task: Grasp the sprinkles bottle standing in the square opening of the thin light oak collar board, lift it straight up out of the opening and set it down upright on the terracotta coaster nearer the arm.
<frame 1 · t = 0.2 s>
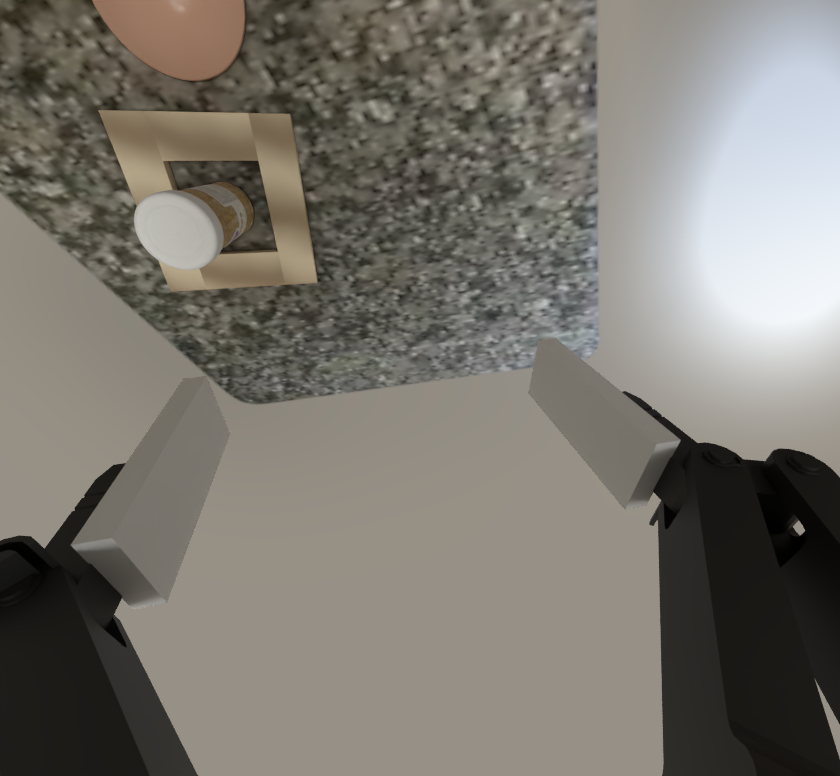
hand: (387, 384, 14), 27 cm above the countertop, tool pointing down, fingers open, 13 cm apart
collar board: (228, 208, 33), on the countertop
sprinkles bottle: (229, 208, 33), resting in collar board
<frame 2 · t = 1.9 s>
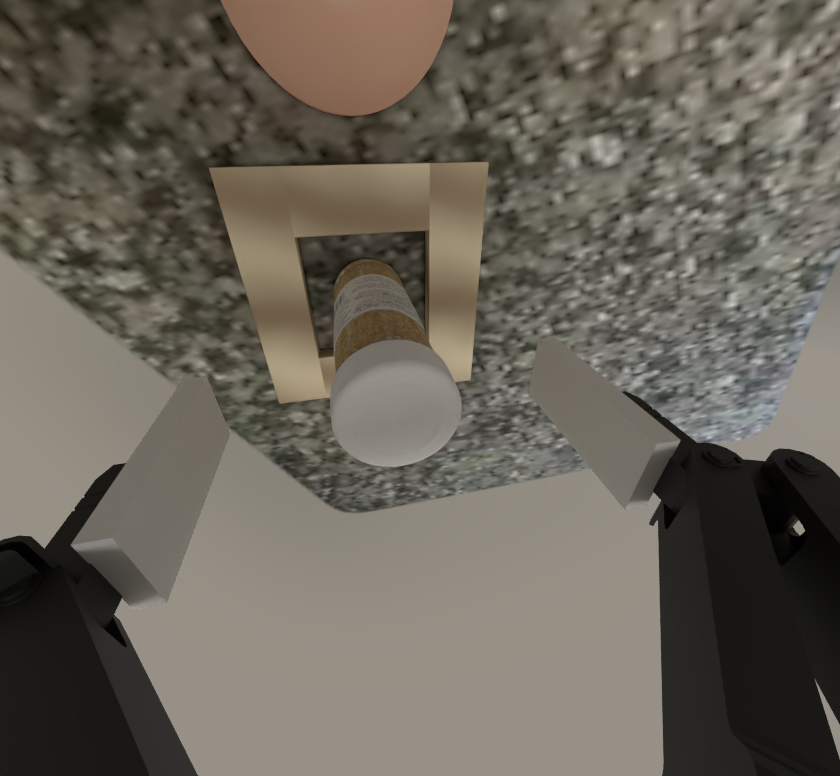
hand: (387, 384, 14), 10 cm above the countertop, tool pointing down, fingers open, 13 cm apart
collar board: (368, 292, 23), on the countertop
sprinkles bottle: (368, 291, 23), resting in collar board
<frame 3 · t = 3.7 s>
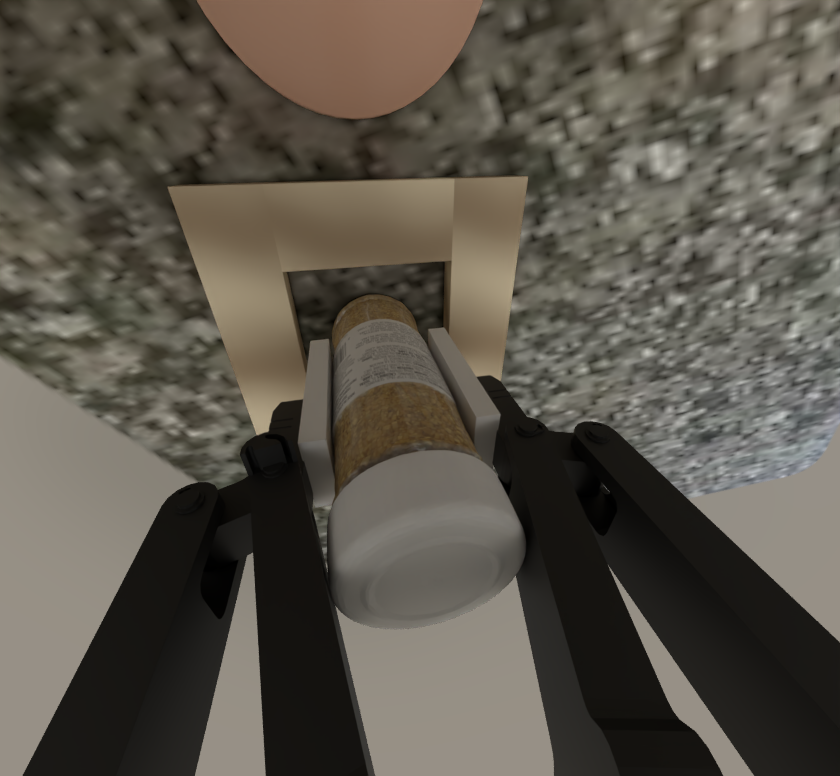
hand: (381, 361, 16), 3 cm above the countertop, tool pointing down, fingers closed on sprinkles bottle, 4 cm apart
collar board: (374, 332, 19), on the countertop
sprinkles bottle: (374, 331, 19), resting in collar board, touching gripper
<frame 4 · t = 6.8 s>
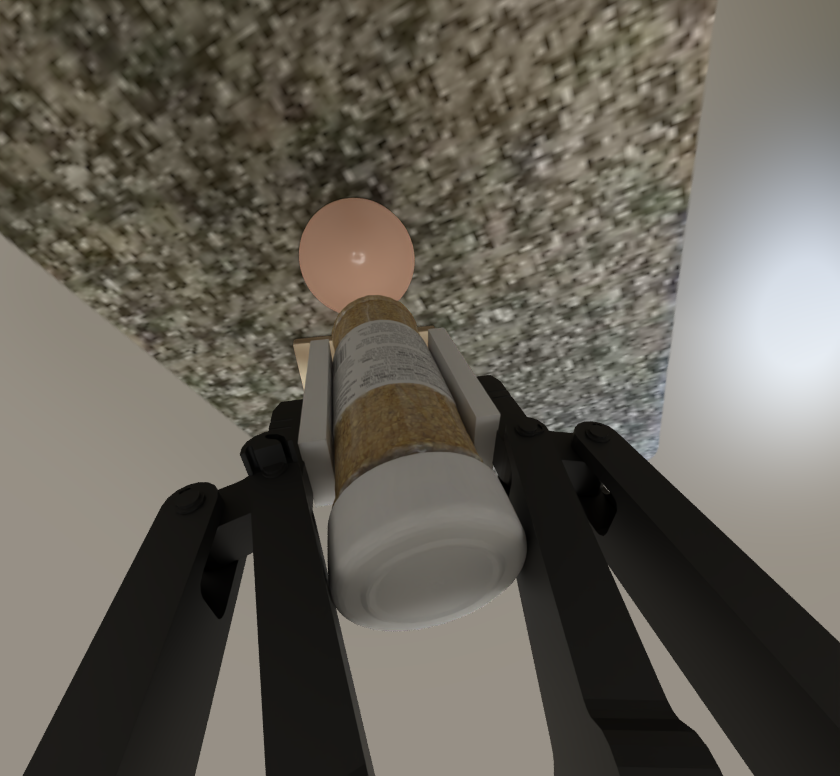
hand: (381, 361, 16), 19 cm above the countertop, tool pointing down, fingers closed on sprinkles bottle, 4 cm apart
collar board: (372, 389, 39), on the countertop
sprinkles bottle: (374, 331, 19), point 16 cm above the countertop, touching gripper
coaster: (358, 260, 31), on the countertop
when the fingers open (5 cm above the countertop, at t = 9.9 s): sprinkles bottle stays where it is, resting on coaster.
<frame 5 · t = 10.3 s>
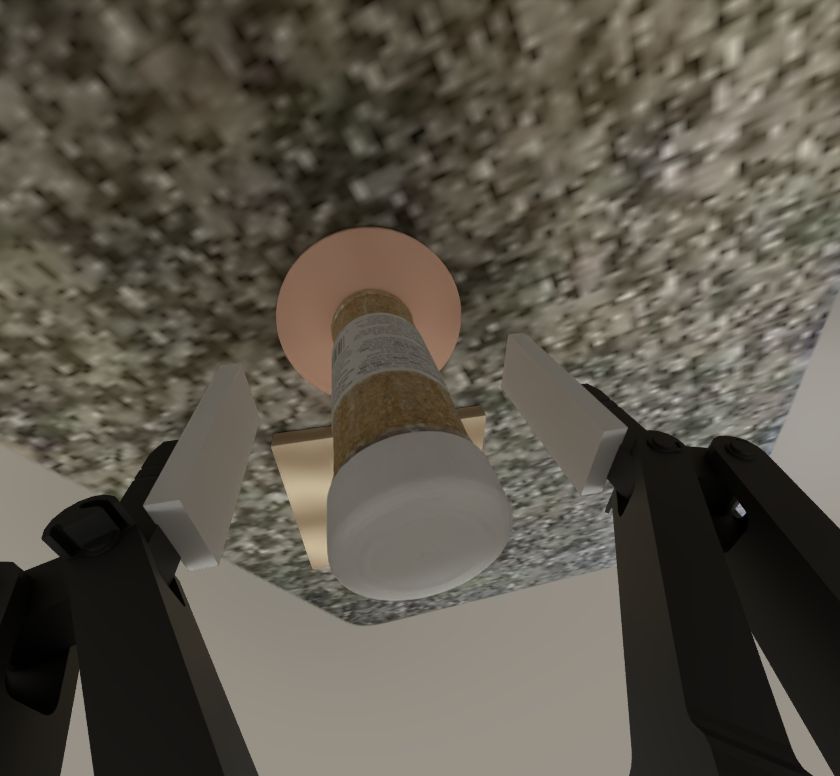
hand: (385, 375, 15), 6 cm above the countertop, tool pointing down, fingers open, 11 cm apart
collar board: (388, 488, 28), on the countertop
sprinkles bottle: (372, 325, 19), point 1 cm above the countertop, touching coaster
coaster: (372, 322, 20), on the countertop
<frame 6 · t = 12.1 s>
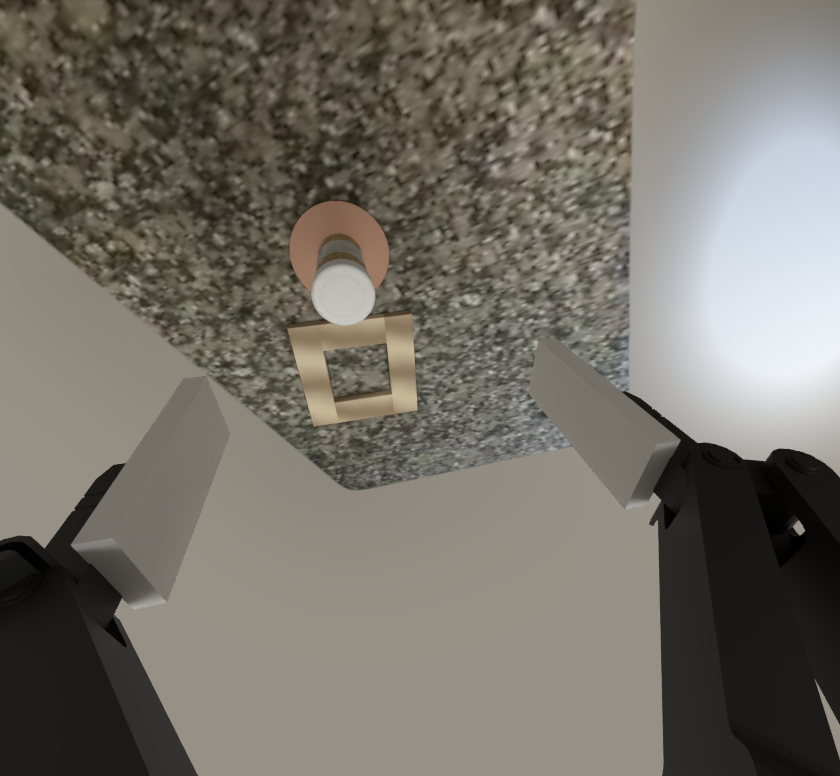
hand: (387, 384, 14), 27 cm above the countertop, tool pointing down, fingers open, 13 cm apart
collar board: (359, 369, 44), on the countertop
sprinkles bottle: (340, 255, 36), point 1 cm above the countertop, touching coaster
coaster: (340, 254, 37), on the countertop
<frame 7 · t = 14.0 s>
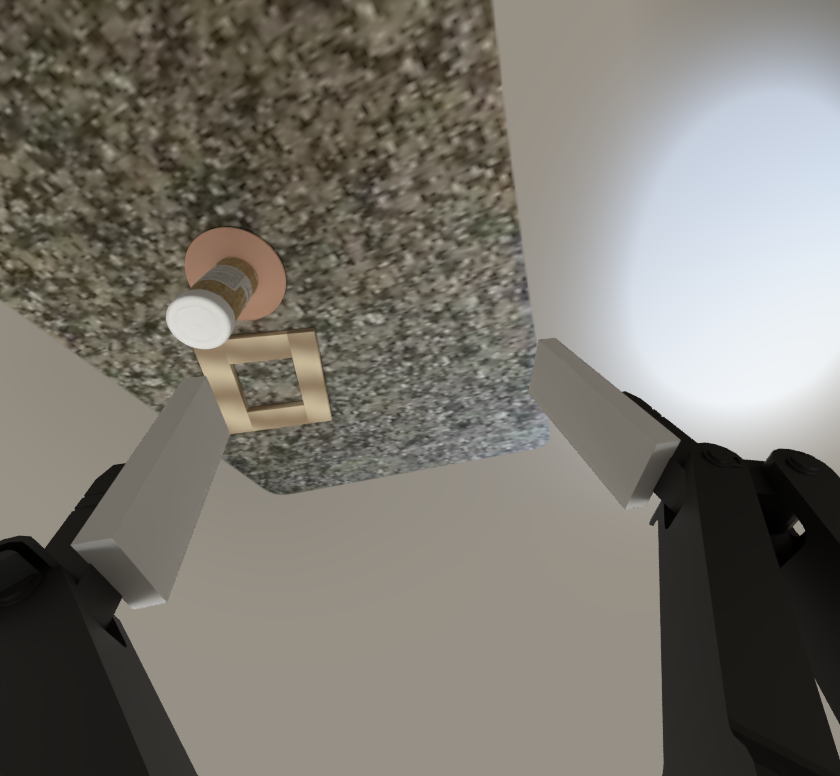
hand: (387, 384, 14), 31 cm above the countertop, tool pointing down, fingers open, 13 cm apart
collar board: (270, 381, 47), on the countertop
sprinkles bottle: (237, 276, 38), point 1 cm above the countertop, touching coaster
coaster: (238, 275, 39), on the countertop
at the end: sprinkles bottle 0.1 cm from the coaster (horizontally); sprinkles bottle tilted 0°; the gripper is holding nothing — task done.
